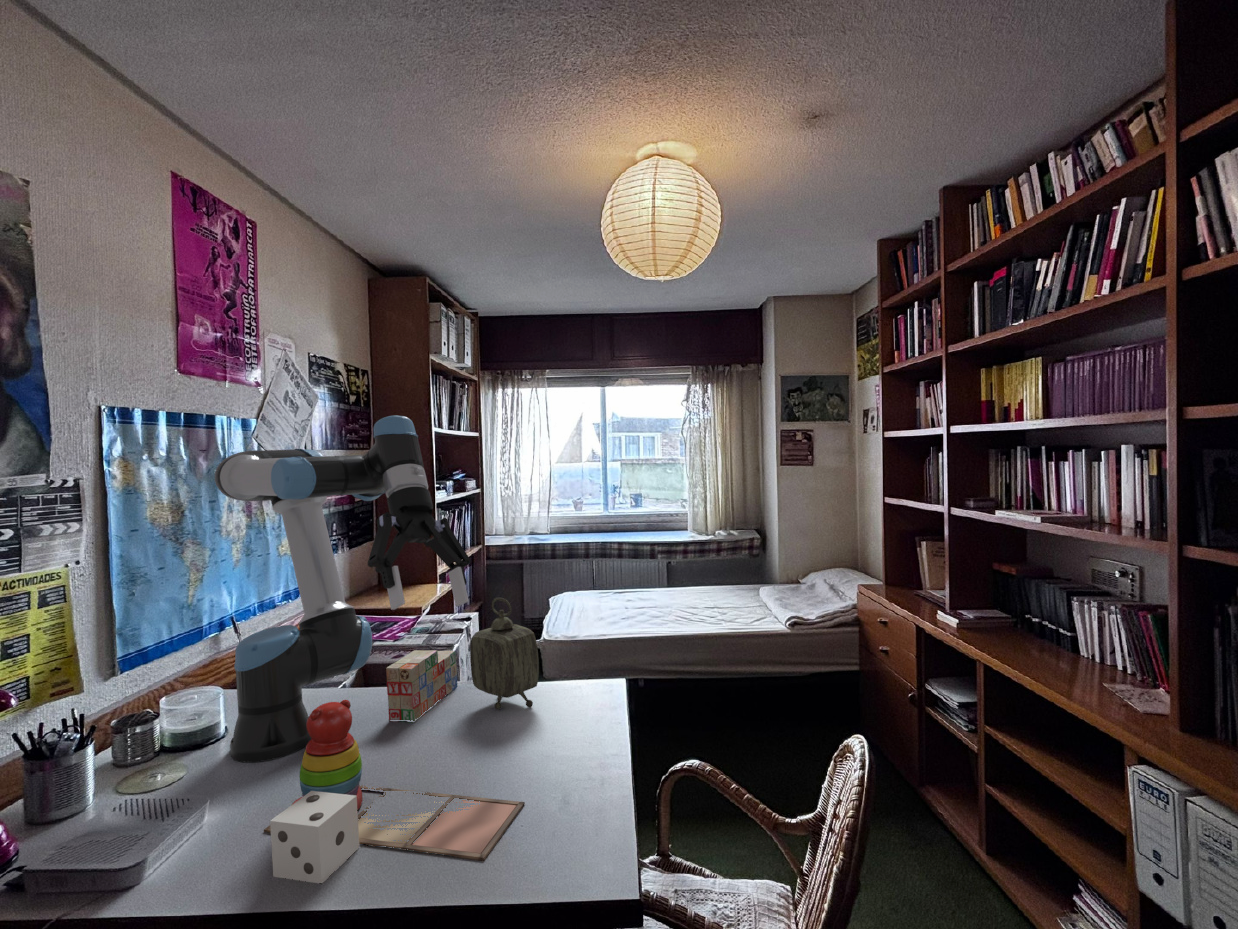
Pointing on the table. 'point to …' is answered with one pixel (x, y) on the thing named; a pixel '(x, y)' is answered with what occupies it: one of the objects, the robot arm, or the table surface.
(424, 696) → the stack of blocks
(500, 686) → the tabletop clock
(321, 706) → the stacking bear
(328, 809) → the die
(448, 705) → the table surface
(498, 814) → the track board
